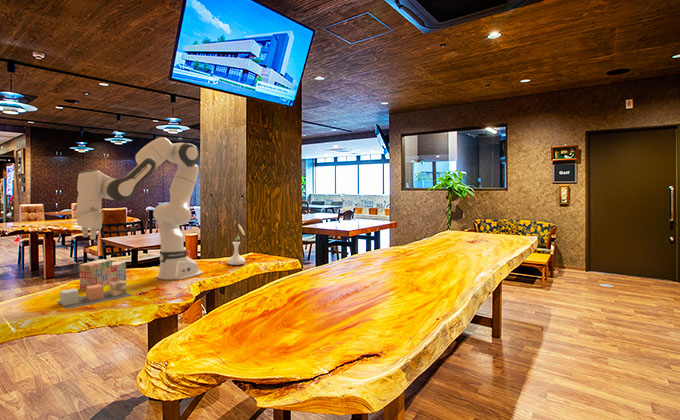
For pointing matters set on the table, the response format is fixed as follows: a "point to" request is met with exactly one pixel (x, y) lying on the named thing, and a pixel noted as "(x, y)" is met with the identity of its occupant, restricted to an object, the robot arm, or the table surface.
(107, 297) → the charcoal mat
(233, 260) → the flower in vase
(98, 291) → the terracotta block
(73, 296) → the light gray cube
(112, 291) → the birch block
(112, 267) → the stack of blocks
